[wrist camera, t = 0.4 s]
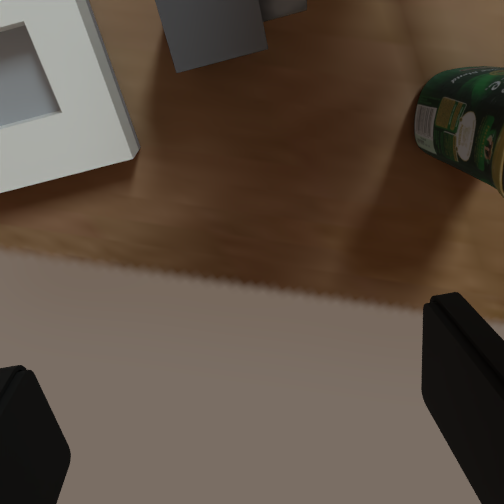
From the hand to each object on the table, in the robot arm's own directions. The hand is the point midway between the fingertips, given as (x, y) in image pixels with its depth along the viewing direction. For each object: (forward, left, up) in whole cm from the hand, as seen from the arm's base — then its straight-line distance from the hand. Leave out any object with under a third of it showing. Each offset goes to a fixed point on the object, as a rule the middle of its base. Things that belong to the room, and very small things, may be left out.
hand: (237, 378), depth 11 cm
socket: (-8, -16, -33) cm, 37 cm away
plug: (-8, +3, -33) cm, 34 cm away
